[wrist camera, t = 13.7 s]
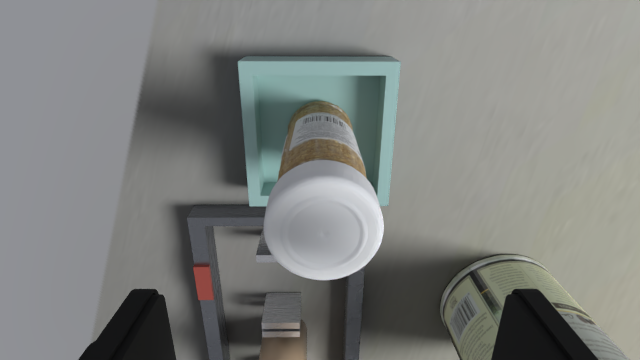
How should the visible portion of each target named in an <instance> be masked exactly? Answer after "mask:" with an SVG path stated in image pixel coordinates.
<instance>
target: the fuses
mask: <svg viewBox="0 0 640 360" xmlns="http://www.w3.org/2000/svg"><path fill="white" fill-rule="evenodd" d="M259 360H307V327H306V325H305V323H304V322H303V321H302V320H301V323H300V337H262V342H261V349H260V355H259Z"/></svg>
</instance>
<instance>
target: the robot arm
mask: <svg viewBox="0 0 640 360" xmlns="http://www.w3.org/2000/svg"><path fill="white" fill-rule="evenodd" d="M79 360H176V356H175V351H174V345H173V340H172V335H171V329H170V324H169V318H168V313H167V308H166V302H165V298H164V296H163V295H159V294H158V291H157V290H156V289H134V290H132V291H131V292H130V293H129V295H128V296H127V298H126V299H125V300H124V302H123V303H122V305H121V306H120V307H119V309H118V310H117V312H116V313H115V314H114V316H113V317H112V319H111V320H110V322H109V323H108V324H107V326H106V327H105V329H104V330H103V331H102V333H101V334H100V336H99V337H98V339H97V340H96V341H95V342H93V343H91V344H90V345H89V346H88V347H87V349H86V350H85V351H84V353H83V354H82V355H81V357H80V358H79ZM491 360H598V358H597V357H596V356H595V355H594V354H593V352H592V351H591V350H590V349H589V348H588V347H587V345H586V344H585V343H584V342H583V341H582V340H581V338H580V337H579V336H578V335H577V334H576V332H575V331H574V330H573V329H572V328H571V327H570V325H569V324H568V323H567V322H566V321H565V319H564V318H563V317H562V316H561V315H560V314H559V312H558V311H557V310H556V309H555V308H554V306H553V305H552V304H551V303H550V302H549V301H548V299H547V298H546V297H545V296H544V295H543V294H542V292H541V291H539V290H538V289H514V290H513V291H512V293H511V294H508V295H507V296H506V298H505V302H504V307H503V311H502V315H501V319H500V324H499V328H498V332H497V336H496V341H495V345H494V349H493V353H492V358H491Z"/></svg>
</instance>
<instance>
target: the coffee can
mask: <svg viewBox="0 0 640 360" xmlns="http://www.w3.org/2000/svg"><path fill="white" fill-rule="evenodd" d="M514 289H538V290H539V291H541V292H542V294H543V295H544V296H545V297H546V298H547V299H548V301H549V302H550V303H551V304H552V305H553V306H554V308H555V309H556V310H557V311H558V312H559V314H560V315H561V316H562V317H563V318H564V319H565V321H566V322H567V323H568V324H569V325H570V327H571V328H572V329H573V330H574V331H575V332H576V334H577V335H578V336H579V337H580V338H581V340H582V341H583V342H584V343H585V344H586V345H587V347H588V348H589V349H590V350H591V351H592V352H593V354H594V355H595V356H596V357H597V358H598V360H630V359H629V358H628V357H627V356H626V355H625V354H624V353H623V352H622V351H621V350H620V348H619V347H618V346H617V345H616V344H615V343H614V342H613V341H612V340H611V339H610V338H609V337H608V336H607V334H606V333H605V332H604V331H603V330H602V329H601V328H600V327H599V326H598V325H597V324H596V323H595V322H594V321H593V320H592V318H591V317H590V316H589V315H588V314H587V313H586V312H585V311H584V310H583V309H582V308H581V307H580V305H579V304H578V303H577V302H576V301H575V300H574V299H573V298H572V297H571V296H570V295H569V294H568V293H567V292H566V290H565V289H564V288H563V287H562V286H561V285H560V284H559V283H558V282H557V281H556V280H555V279H554V278H553V276H552V275H551V273H550V272H549V271H548V270H547V269H546V268H545V267H544V266H543V265H542V264H541V263H539V262H538V261H536V260H533V259H531V258H529V257H525V256H521V255H497V256H493V257H489V258H485V259H483V260H480V261H477V262H475V263H473V264H471V265H469V266H468V267H466V268H465V269H463V270H462V271H461V272H459V273H458V274H457V275H456V276H455V277H454V278H453V279H452V281H451V282H450V283H449V284H448V286H447V287H446V289H445V291H444V293H443V296H442V299H441V304H440V314H441V318H442V321H443V323H444V325H445V327H446V328H447V331H448V333H449V335H450V338H451V340H452V343H453V345H454V347H455V349H456V351H457V354H458V356H459V358H460V360H491V358H492V353H493V349H494V345H495V341H496V336H497V332H498V328H499V324H500V319H501V315H502V311H503V307H504V302H505V298H506V296H507V295H508V294H511V293H512V291H513V290H514Z"/></svg>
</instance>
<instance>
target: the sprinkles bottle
mask: <svg viewBox="0 0 640 360" xmlns="http://www.w3.org/2000/svg"><path fill="white" fill-rule="evenodd" d="M383 232H384V223H383V216H382V212H381V208H380V205H379V201H378V198H377V195H376V193H375V191H374V188H373V187H372V185H371V184H370V182H369V181H368V180H367V177H366V171H365V167H364V163H363V160H362V157H361V154H360V151H359V148H358V145H357V142H356V138H355V136H354V133H353V128H352V124H351V122H350V119H349V117H348V115H347V114H346V113H345V112H344V111H343V110H342V109H341V108H340V107H339V106H337V105H334V104H332V103H329V102H325V101H315V102H310V103H308V104H306V105H304V106H302V107H300V108H299V109H298V110H297V111H296V112H295V113H294V114H293V116H292V117H291V119H290V122H289V125H288V134H287V136H286V139H285V143H284V147H283V151H282V156H281V165H280V170H279V174H278V181H277V183H276V184H275V186H274V187H273V189H272V191H271V193H270V195H269V199H268V203H267V207H266V212H265V218H264V237H265V241H266V244H267V246H268V249H269V250H270V252H271V254H272V255H273V257H274V258H275V259H276V260H277V261H278V263H279V264H281V265H282V266H283V267H284V268H286V269H287V270H288V271H290V272H292V273H294V274H296V275H299V276H301V277H304V278H309V279H314V280H333V279H339V278H342V277H345V276H348V275H350V274H352V273H354V272H356V271H358V270H359V269H361V268H362V267H364V266H365V265H366V264H367V263H368V262H369V261H370V260H371V259H372V258H373V256H374V255H375V254H376V252H377V250H378V249H379V247H380V244H381V241H382V237H383Z"/></svg>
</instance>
